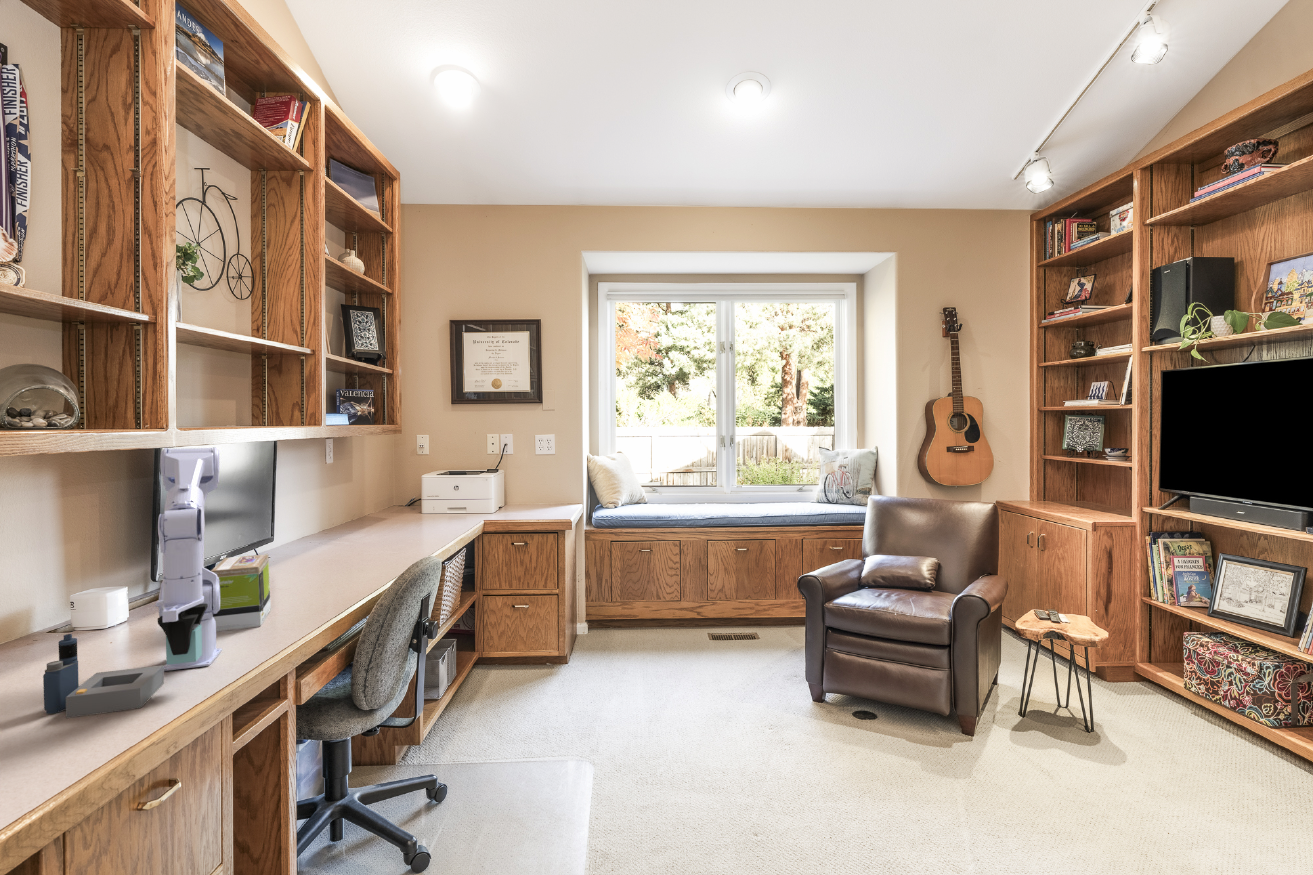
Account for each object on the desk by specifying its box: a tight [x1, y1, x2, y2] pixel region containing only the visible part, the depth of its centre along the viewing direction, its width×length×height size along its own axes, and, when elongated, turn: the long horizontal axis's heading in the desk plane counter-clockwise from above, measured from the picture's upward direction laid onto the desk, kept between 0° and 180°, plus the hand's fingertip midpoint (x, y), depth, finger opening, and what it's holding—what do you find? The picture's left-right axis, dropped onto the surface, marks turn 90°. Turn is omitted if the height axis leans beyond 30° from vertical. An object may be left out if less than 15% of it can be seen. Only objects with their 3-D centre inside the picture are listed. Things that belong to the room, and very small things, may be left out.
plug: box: [165, 624, 202, 665], centre depth 116 cm, size 4×4×6 cm
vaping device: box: [42, 633, 80, 715], centre depth 109 cm, size 3×5×12 cm, turn 2°
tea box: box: [210, 553, 272, 633], centre depth 156 cm, size 15×10×15 cm, turn 23°
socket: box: [65, 664, 165, 719], centre depth 112 cm, size 11×10×4 cm
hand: (184, 649), depth 116 cm, fingers closed on plug, 4 cm apart
